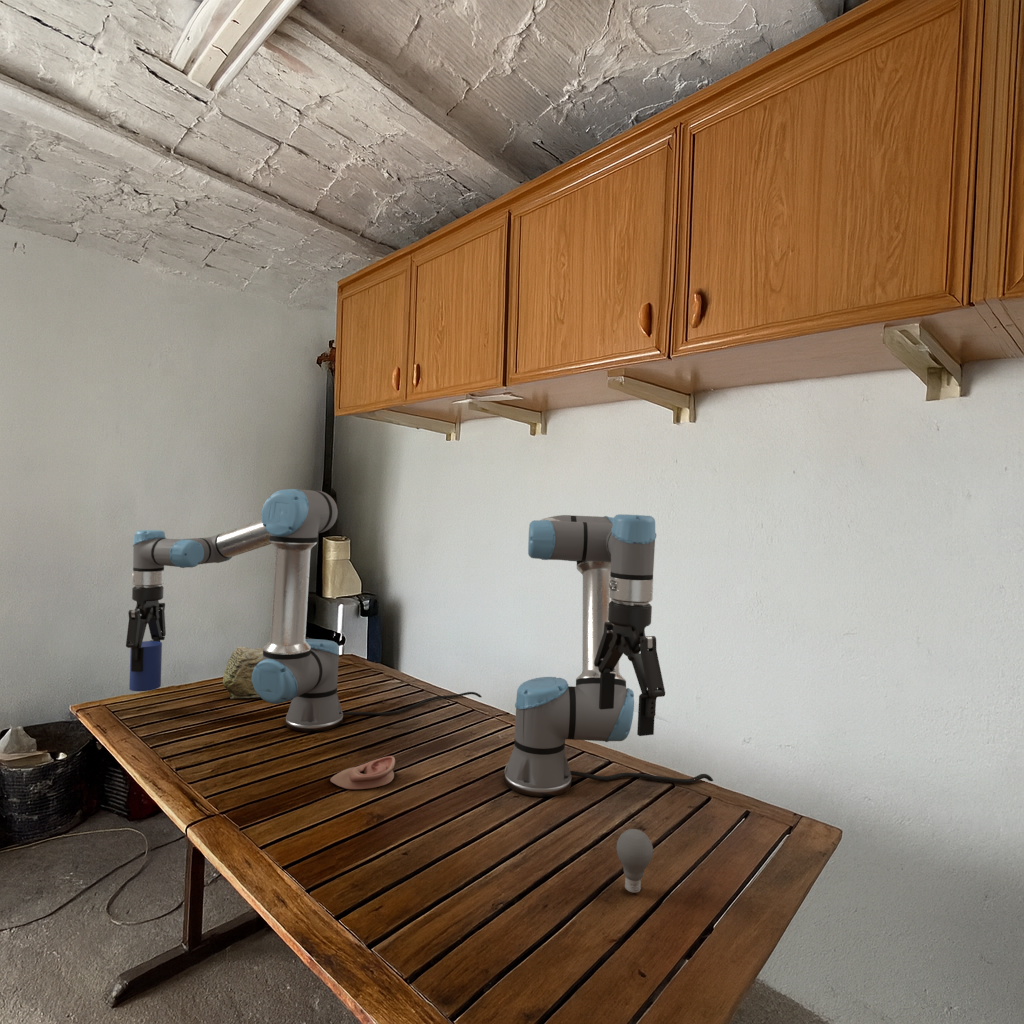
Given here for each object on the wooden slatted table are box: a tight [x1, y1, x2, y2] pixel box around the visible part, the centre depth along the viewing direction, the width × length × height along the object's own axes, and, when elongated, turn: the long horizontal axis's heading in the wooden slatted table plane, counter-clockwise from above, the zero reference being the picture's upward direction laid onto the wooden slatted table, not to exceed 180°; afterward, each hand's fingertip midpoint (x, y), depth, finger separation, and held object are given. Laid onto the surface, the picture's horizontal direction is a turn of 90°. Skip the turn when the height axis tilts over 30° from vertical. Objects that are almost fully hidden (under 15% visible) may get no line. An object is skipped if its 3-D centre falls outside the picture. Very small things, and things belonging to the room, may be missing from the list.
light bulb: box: [615, 828, 654, 894], centre depth 106 cm, size 6×6×10 cm
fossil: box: [222, 646, 263, 699], centre depth 198 cm, size 9×18×15 cm, turn 132°
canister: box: [128, 640, 163, 692], centre depth 176 cm, size 8×8×12 cm
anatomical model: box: [330, 755, 396, 790], centre depth 143 cm, size 13×4×12 cm
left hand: (145, 667), depth 176 cm, fingers closed on canister, 8 cm apart
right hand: (624, 721), depth 112 cm, fingers open, 13 cm apart
